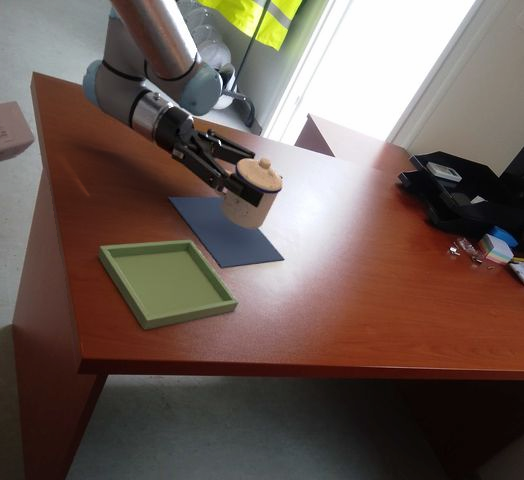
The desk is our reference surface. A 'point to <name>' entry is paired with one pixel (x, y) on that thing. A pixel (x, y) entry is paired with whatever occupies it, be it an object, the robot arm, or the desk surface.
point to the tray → (166, 282)
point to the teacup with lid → (261, 179)
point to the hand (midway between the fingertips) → (270, 192)
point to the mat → (224, 233)
